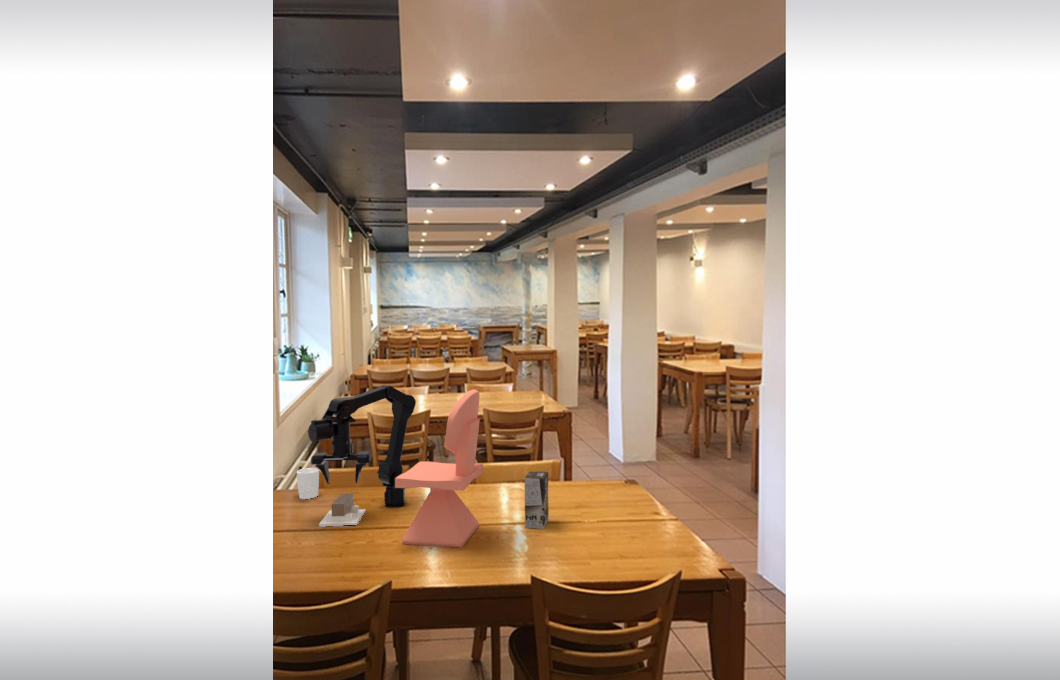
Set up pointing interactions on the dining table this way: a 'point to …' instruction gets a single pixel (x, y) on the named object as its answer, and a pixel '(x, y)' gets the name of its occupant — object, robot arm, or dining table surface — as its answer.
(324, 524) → the display rest
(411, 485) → the chair
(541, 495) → the coffee box
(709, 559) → the dining table surface
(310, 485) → the white cup
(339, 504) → the gray cuboid brick
